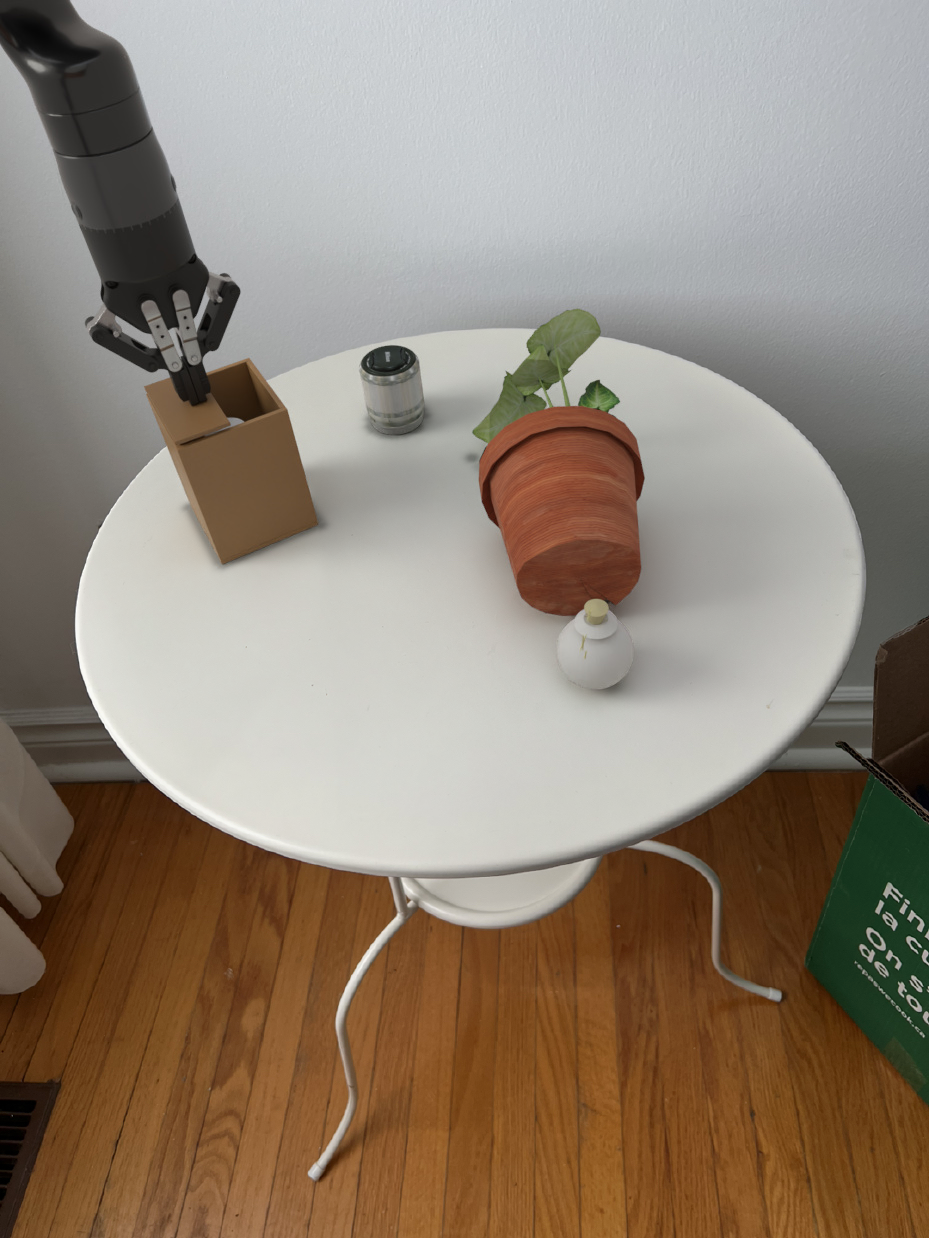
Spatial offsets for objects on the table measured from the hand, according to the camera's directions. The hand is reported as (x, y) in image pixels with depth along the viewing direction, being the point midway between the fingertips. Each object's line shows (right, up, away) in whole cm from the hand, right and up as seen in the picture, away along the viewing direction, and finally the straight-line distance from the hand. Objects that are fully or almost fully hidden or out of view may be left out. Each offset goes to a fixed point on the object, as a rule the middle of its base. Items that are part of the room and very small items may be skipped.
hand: (196, 399), depth 81 cm
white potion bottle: (+34, -24, -6) cm, 42 cm away
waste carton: (+3, -9, +11) cm, 14 cm away
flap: (-1, -1, 0) cm, 1 cm away
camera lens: (+16, +2, +20) cm, 26 cm away
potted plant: (+32, -8, +9) cm, 34 cm away
